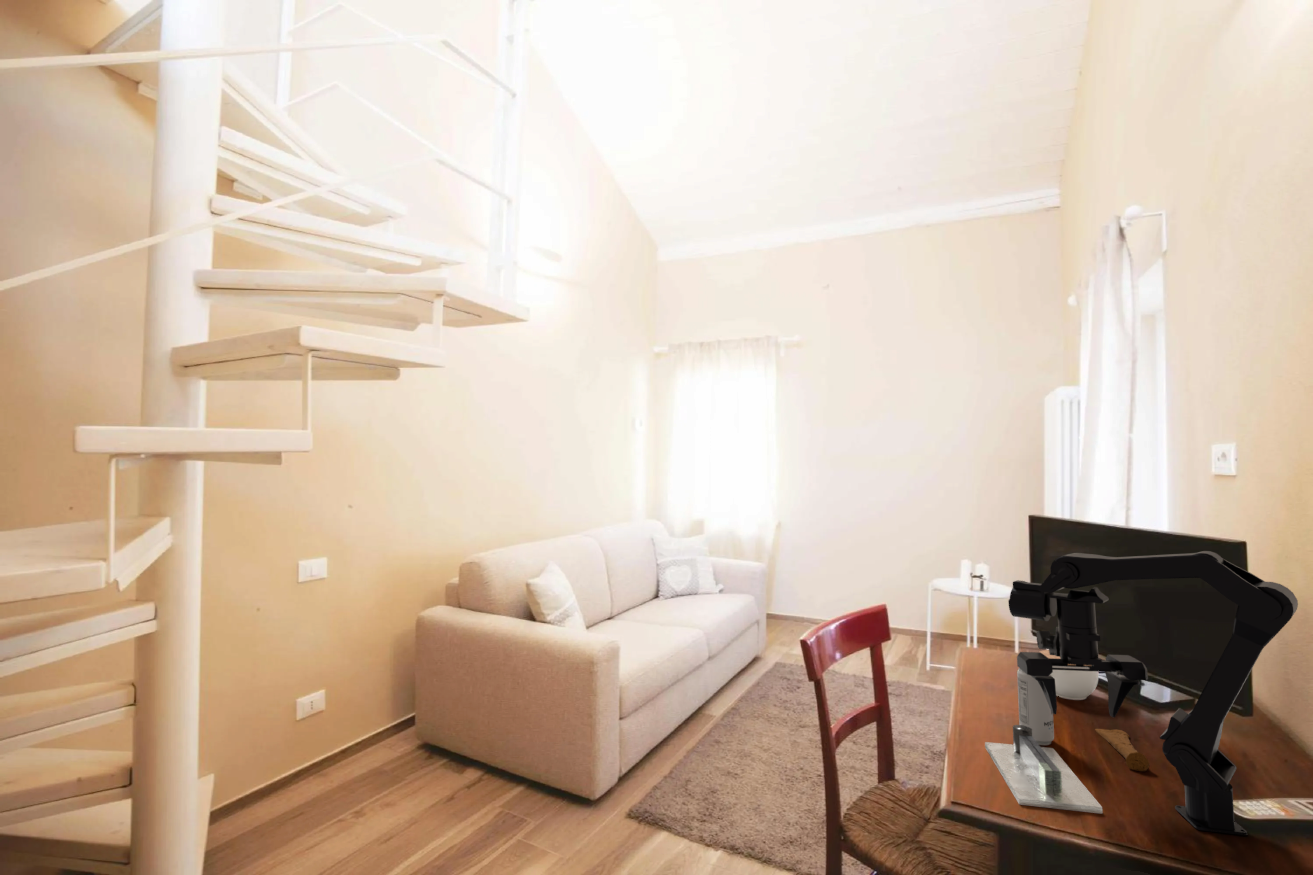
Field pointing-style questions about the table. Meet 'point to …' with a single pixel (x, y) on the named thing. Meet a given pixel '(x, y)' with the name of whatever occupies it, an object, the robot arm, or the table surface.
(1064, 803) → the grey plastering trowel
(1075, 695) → the lidded bowl
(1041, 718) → the energy drink can
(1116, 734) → the primitive tool
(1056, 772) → the green glass bar
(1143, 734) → the table surface
